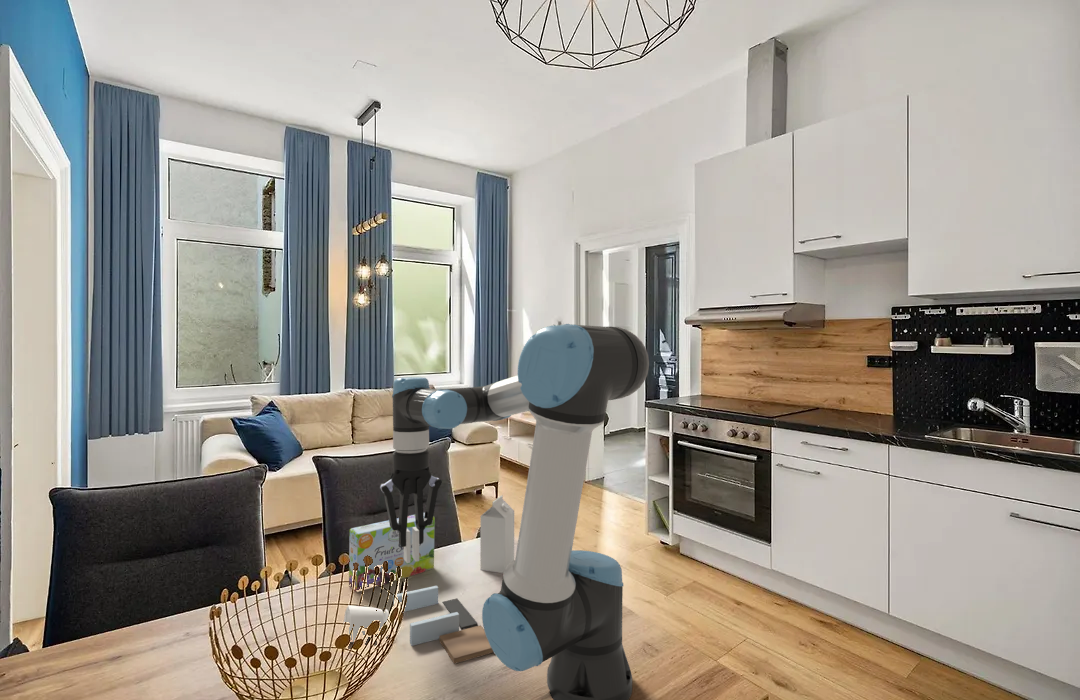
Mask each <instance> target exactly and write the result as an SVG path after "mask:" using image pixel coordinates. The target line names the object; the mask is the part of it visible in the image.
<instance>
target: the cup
mask: <svg viewBox="0 0 1080 700" xmlns="http://www.w3.org/2000/svg"><path fill="white" fill-rule="evenodd" d="M376 610H377V611H376ZM384 611H385V613H384ZM384 611H383V610H382V609H381V608H377V607H372V606H360V605H350V604H348V605H347V606H346V608H345V611H344V618H343V623H344V622H349V623H350V627H349V634H350V631H351V630H352V628H353V642H354V640H355V638H356V636H357V633H358V630H359V628H360V626H364V628H367V627H368V626H369V625H370V624H371V623H372V621H374V620H379V621H380V622H381V623H380V628H379V631H380V629H381V627H382V626H383V624H384V623H385V622H386V621H387V619H388V616H389V617H390V613H389V610H388V609H387V608H386V609H384ZM353 624H354V625H355V626H354V627H353ZM362 633H363V635H365V631H362ZM351 640H352V634H351ZM353 642H352V643H353Z"/></svg>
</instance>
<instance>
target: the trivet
mask: <svg viewBox="0 0 1080 700" xmlns="http://www.w3.org/2000/svg"><path fill="white" fill-rule="evenodd" d="M438 640H439V643H440V644H441V646H442V647H443V649H444V651H445V652H446V653H447V655H448V656H449V658H450V659H451V661H452V663H453V665H455V664H458V663H462V662H465V661H468V660H472V659H476V658H480V657H483V656H486V655H489V654H492V653H494V651H493V650H492V648H491V646H490V644H489V641H488V639H487V637H486V634H485V631H484V627H483V625H481V624H480V625H478V626H474V627H470V628H466V629H459V631H457V632H453V633H449V634H445V635H441V636H439V639H438Z"/></svg>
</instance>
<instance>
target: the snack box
mask: <svg viewBox="0 0 1080 700" xmlns="http://www.w3.org/2000/svg"><path fill="white" fill-rule="evenodd" d="M423 513H424V515H425V512H423ZM396 518H397V517H396ZM435 519H436V518H435V516H433V522H432V524H431V525H427V526H426V527H425V529H424V541H423V543H422V544H419V561H417V562H416V561H415V560H414V559H413V558H412V527H416V521H415V514H410V515H408V517H407V529H408V530H409V531H410V563H406V561H405V560H404V547H401V546H400V544H399V531H397V530H396V531H394V530H393V529H392V528H391V527H390V523H389V519H388V520H384V521H379V522H375V523H370V524H366V525H361V526H356V527H351V528H350V529H349V537H348V538H349V540H348V541H349V544H348V545H349V549H348V550H349V551H348V553H349V555H348V559H349V558H350V562H349V561H348V562H349V563H348V564H349V568H348V586H349V585H350V584H351V587H352V576H353V569H354V566H353V563H355V562H357V563H359V566H358V570H357V572H356V576H355V591H356V590H359V589H360V587H361V589H362V583H363V580H364V574H365V563H364V561H363V559H364V557H365V556H367V555H368V556H370V557H372V559H373V563H372V564H371V565H369V567H368V573H367V585H368V586H367V587H369V584H371V583H373V582H374V576H375V570H374V567H375V566H377V565H382V564H383V562H384V561H388V572H386V573H385V583H384V585H387V584H390V583H389V581H390V575H389V573H390V572H393V573H394V574H396V575H395V576H396V581H398V580H397V572H396V568H397V567H398V566H400V567H401V569H402V576H401V579H400V580H402V579H406V578H408V577H412V576H415V575H418V574H421V573H425V572H427V571H430V570H434V568H435V530H436V529H435V524H436V522H435ZM397 523H399V517H398V518H397ZM382 569H383V567H382V566H381V568H380V573H379V574H378V577H377V580H376V585H379V586H378V587H381V586H382V585H381V582H382ZM380 585H381V586H380ZM351 587H350V588H351ZM365 588H366V587H365ZM375 588H377V586H376V587H375ZM355 591H354V592H355Z"/></svg>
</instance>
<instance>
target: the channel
mask: <svg viewBox="0 0 1080 700" xmlns="http://www.w3.org/2000/svg"><path fill="white" fill-rule="evenodd" d="M406 592H407V596H408V597H407V603H406V607H405V611H404V612H403V613H405V612H408V611H412V610H416V609H417V610H418V609H421V608H425V607H426V608H427V607H430V606H434V605H438V604H439V587H438V585H433V586H429V587H424V588H420V589H415V590H410V591H406ZM403 593H404V592H401V593H396V594H397V597H398V600H399V602H402V594H403ZM394 595H395V594H393V595H392V596H393V599H392V600H393V601H392V602H393V603H392V605H393V604H394ZM457 631H460V627H459V614H458V612H455V613H447V614H444V615H438V616H434V617H431V618H430V617H429V618H426V619H422V620H417V621H414V622H411V623H409V645H410V646H411V647H414V646H416V645H417V646H418V645H420V644H425V643H429V642H432V641H436V640H439V636H441V635H445V634H449V633H453V632H457Z"/></svg>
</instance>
